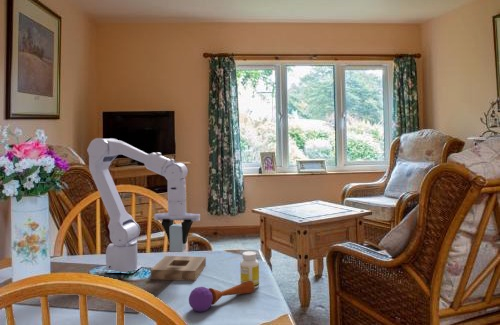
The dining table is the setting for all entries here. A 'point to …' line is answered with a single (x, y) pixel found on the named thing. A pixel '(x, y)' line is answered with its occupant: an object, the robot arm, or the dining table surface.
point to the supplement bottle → (250, 268)
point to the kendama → (215, 295)
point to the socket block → (178, 268)
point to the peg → (176, 238)
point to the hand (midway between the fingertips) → (177, 242)
